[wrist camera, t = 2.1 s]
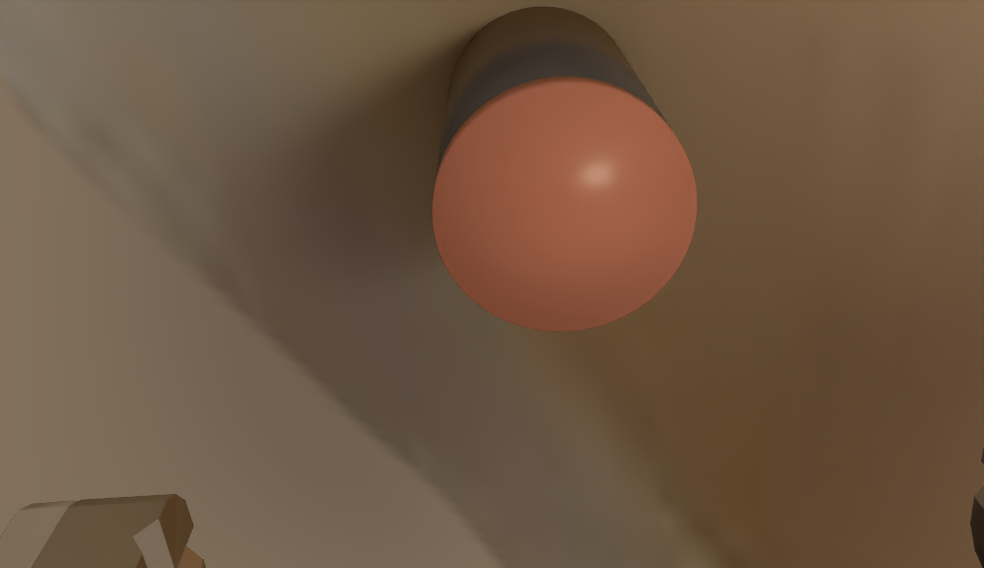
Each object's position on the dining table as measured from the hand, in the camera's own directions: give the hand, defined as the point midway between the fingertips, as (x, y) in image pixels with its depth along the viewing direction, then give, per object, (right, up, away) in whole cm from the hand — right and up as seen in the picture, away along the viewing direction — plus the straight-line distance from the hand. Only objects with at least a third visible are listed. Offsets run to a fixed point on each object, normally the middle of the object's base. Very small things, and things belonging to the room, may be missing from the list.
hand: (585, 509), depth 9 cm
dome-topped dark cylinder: (0, +7, +14) cm, 16 cm away
